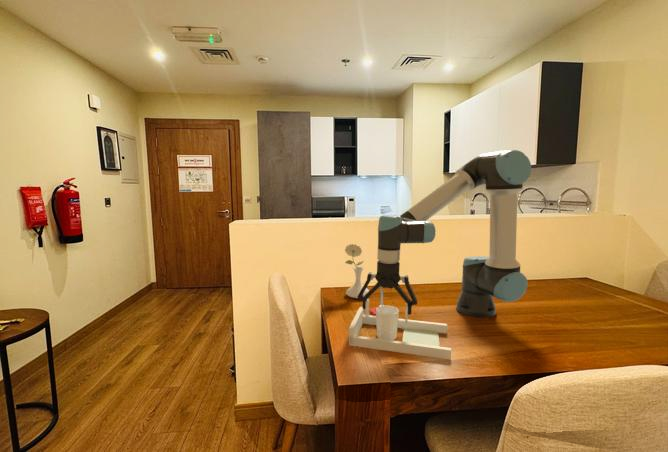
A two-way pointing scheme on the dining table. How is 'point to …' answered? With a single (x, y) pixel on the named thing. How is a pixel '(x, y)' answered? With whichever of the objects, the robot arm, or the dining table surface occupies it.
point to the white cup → (387, 322)
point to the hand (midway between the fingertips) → (386, 320)
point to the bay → (415, 337)
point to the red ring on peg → (380, 302)
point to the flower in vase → (356, 288)
